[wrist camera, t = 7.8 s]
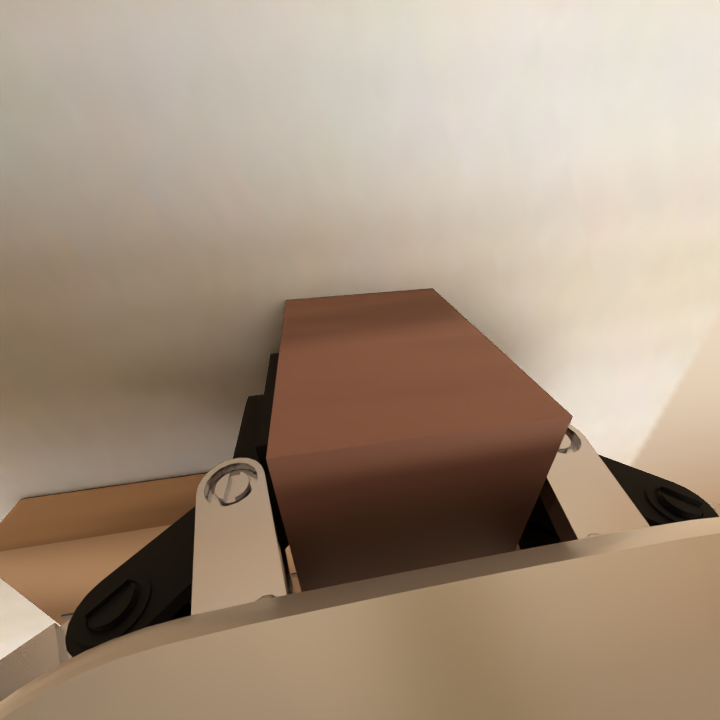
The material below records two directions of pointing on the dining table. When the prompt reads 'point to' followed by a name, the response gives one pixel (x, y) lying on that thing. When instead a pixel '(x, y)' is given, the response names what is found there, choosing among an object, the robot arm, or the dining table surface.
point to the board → (88, 538)
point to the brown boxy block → (401, 438)
